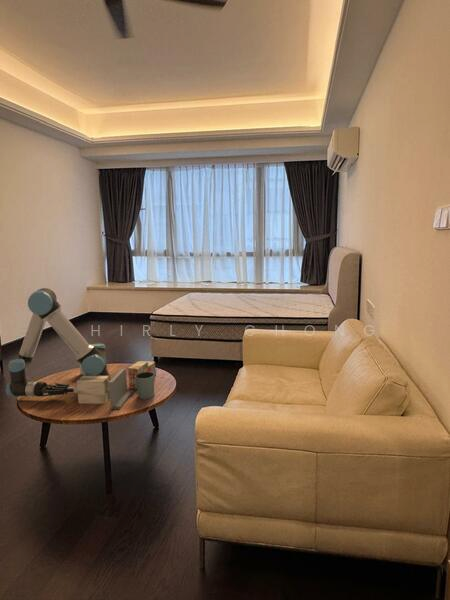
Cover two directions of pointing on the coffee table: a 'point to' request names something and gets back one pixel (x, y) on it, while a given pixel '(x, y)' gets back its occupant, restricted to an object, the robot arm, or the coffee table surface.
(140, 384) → the green cup
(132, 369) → the stack of blocks
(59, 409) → the coffee table surface
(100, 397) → the ash block
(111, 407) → the stop board
